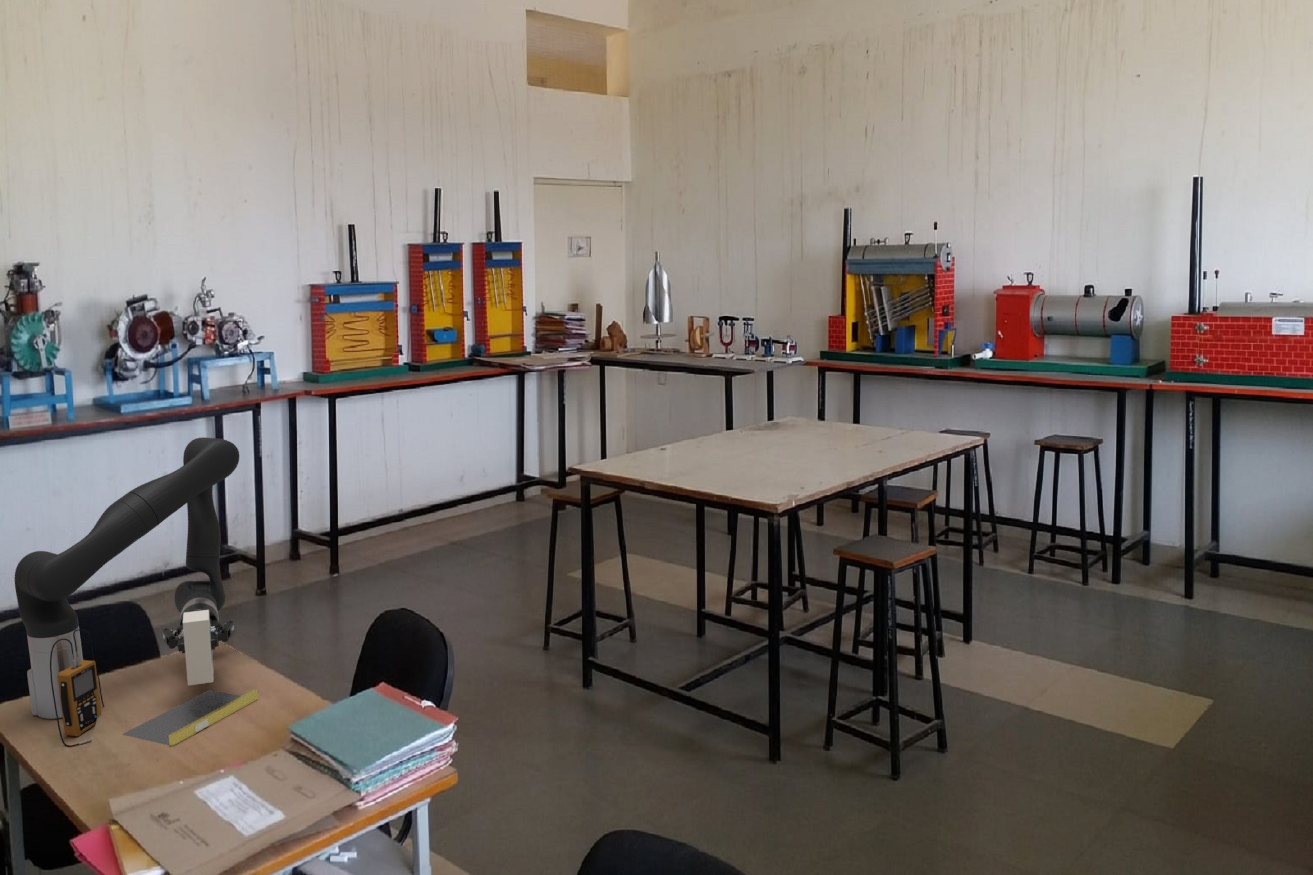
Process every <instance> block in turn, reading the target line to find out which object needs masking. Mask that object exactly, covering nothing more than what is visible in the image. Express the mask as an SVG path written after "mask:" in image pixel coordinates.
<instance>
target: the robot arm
mask: <svg viewBox="0 0 1313 875" xmlns="http://www.w3.org/2000/svg"><path fill="white" fill-rule="evenodd" d="M182 462H183V465H182V466H180V468H179V467H178V469H176V470H173V471H172V472H170V473H167V474H165V475H162V476H160V477H157V478H155V479H152V480H150V481H148V482H145V483H143V484H140V485H138V486H137V487H135V488H133V489H132V490H130V491H128V492H127V493H125V494H124V495H122V496H120V498H118V499H117V500H116V501H113V503H111V504H110V505H109V506H108V507H107V508H106V509H105V510H104V511H103V513H102V514H101V515H100V517H99V518H98V520H97V521H96V523H95V524H94V526H93V528H92V529H91V530H90V532H88V534H87V535H85V536H84V537H83V538H82V539H81V540H79V541H78V542H76V543H75V544H73V545H72V546H71V547H69V548H66V549H65V550H63V551H62V552H60V553H54V552H51V551H50V552H49V551H46V550H37V551H33V552H30V553H28V554H26V555H25V556H23V557H22V558H21V559H20V560H19V562H18V563H17V566H16V568H15V572H14V587H15V588H14V590H15V595H16V600H17V601H16V602H17V607H18V612H19V616H20V619H21V621H22V623H23V625H24V626H25V630H26V631H25V632H26V636H27V637H26V638H27V644H28V652H29V659H30V667H31V668H30V669H28V670H27V671H26V672H27V674H26V675H27V684H28V691H29V698H30V704H31V705H30V707H31V713H32V716H37V717H39V718H41V719H45V720H46V719H48V720H49V719H51V720H52V719H53V720H54V719H57V717H56V712H55V706H54V699H53V693H52V686H51V676H50V655H51V650H52V647H53V645H54V643H55V642H56V641H58V640H60V639H68V640H69V641H70V642H71V643H72V647H73V653H74V659H75V662H76V649H75V641H74V637H73V633H74V631H75V630H78V629H80V626H79V617H78V614H77V612H76V611H75V609H74V608H73V607H72V606H71V605H70V603H69V600H68V599H67V598H68V597H70V596H71V595H73V594H74V593H75V592H76V591H77V590H79V589H80V587H82V586H83V585H84V584H85V583H86V582H87V581H88V580H90V579H91V578H92V576H94V575H95V574H96V573H97V572H98V571H100V569H102V568H104V566H105V565H106V564H107V563H108V562H110V561H111V560H112V559H115V557H117V556H118V555H119V554H121V553H122V552H124V551H125V550H126V549H128V548H129V547H130V546H132V545H133V544H135V542H138V540H140V539H142V538H144V536H147V534H148V533H150V532H151V531H153V530H154V529H155V528H156V527H158V526H159V525H160V524H161V523H163V522H164V521H165V520H167V519H168V518H169V517H170V516H172V515H173V514H174V513H176V512H177V511H178V510H180V509H181V508H183V506H184V505H186V507H187V539H186V554H185V565H186V566H185V567H186V568H187V569H188V570H190V571H194V572H195V571H196V572H199V573H203V574H205V575H207V576H208V578H209V580H208V581H207V580H186V581H182V582H181V583H179V584H178V585H177V587H176V588H175V591H174V595H173V596H174V597H173V598H174V604H175V607H176V609H177V611H178V612H179V613H180V617H179V626H177V628H176V629H175V630H173V629H170V628H167V627H166V628H163V629H162V638H163V640H162V641H163V643H164V644H165V645H166V646H167V647H168V649H171V650H173V649H175V648H176V647H177V652H179V653H180V652H181V654H185V644H184V632H183V614H184V613H185V612H193V611H202V610H209V618H210V626H211V650H212V651H214V650H216V648H218V647H219V643H220V641H222V642H223V643H227V642H229V641H230V640H231V638H232V637H233V635H234V633H235V624H234V620H227V622H224V623H223V624H221V622H219V621H220V617H219V611H220V610H221V609H222V608H223V607H224V605H225V602H226V592H225V587H224V584H223V581H222V575H221V570H220V567H221V566H220V556H221V555H220V554H221V542H222V541H221V540H222V538H221V534H222V533H221V527H220V523H219V518H218V515H217V513H216V512H217V511H216V508H215V504H214V497H213V496H214V495H213V486H215V485H216V484H218V483H220V482H222V481H223V480H225V479H226V478H228V477H230V476H231V475H232V474H233V472H235V470H236V469H237V468H238V465H239V462H240V450H239V449H238V447H237V446H236V445H235V444H234V443H233V442H231V441H229V440H227V439H224V438H216V437H203V436H202V437H197V438H194V439H192V440H190V441H189V442H188V443H187V445H186V446H185V449H184V451H183V456H182ZM80 632H81V630H79V631H76V632H75V639H76V645H77V651H78V658H79V661H82V660H84V656H83V650H82V649H83V648H82V640H81V634H80ZM71 666H72V649H71V644H70V643H69V642H68V641H67V640H60V641H59V642H57V643H56V644H55V646H54V648H53V652H52V681H53V689H54V696H55V702H56V708H57V714H58V719H60V718H61V719H63V716H62V708H61V701H60V693H59V685H58V677H57V675H58V674H59V673H60V672H61V671H63V670H65V669H67V668H69V667H71Z"/></svg>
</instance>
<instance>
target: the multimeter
mask: <svg viewBox="0 0 1313 875" xmlns="http://www.w3.org/2000/svg"><path fill="white" fill-rule="evenodd" d="M76 631H83V632H85V633H86V634H87V635H88V637H89V640H90V651H91V657H92V660H86V659H83V660H82V661H79V658H78V651H77V645H76V639H75V632H76ZM73 637H74V641H75V649H76V662H75V659H74V653H73V647H72V643H71V642H70V641H69V640H68V639H60V640H67V641H68V642H69V643H70V644H71V649H72V666H71V667H69V668H67V669H65V670H63V671H61V672H60V673H59V674H58V675H57V677H58V685H59V693H60V701H61V708H62V716H63V717H62V721H63V722H62V723H63V728H64V735H66V736H70V737H71V736H72V737H80V736H82V734H83V733H85V732H86V731H88V730H89V729H91V728H92V727H94V726H96V725H97V721H98V718H99V717H100V716H102V709H101V708H102V707H104V708H105V704H104V701H103V695H102V688H101V687H102V686H101V681H100V680H101V679H100V676H99V675H100V674H99V672H98V670H97V666H96V665H97V664H96V661H95V656H94V650H93V640H92V637H91V634H90V633H89V631H87V629H83V628H82V629H81V628H79V629H78V630H75V631H74V633H73ZM60 640H58V641H56V642H55V643H54V645H53V647H52V650H51V655H50V676H51V686H52V693H53V699H54V706H55V712H56V717H57V718H56V721H57V728H58V731H59V736H60V740H61V743H62V744H63V745H64V746H65V747H68V748H70V747H71V748H72V747H76V746H79V745H83V744H84V745H85V744H87V743H90V742H92V741H93V738H89V739H86V740H83V741H80V742H79V743H75V744H72V745H71V744H70V745H69V744H67V743H65V740H64V739H63V738H64V737H63V734H62V730H61V727H60V721H59V718H58V714H57V708H56V702H55V696H54V689H53V681H52V652H53V648H54V646H55V644H56V643H57V642H59V641H60ZM100 699H101V700H100ZM101 705H102V707H101Z"/></svg>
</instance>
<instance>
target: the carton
mask: <svg viewBox="0 0 1313 875" xmlns="http://www.w3.org/2000/svg"><path fill="white" fill-rule="evenodd" d="M183 632H184V644H185V653H184V654H185V664H186V665H185V668H186V677H187V680H186V681H187V686H188V687H189V686H196V685H201V684H203V685H204V684H207V683H208V684H209V683H214V670H215V669H214V661H213V660H214V652H213V651H214V650H211V626H210V618H209V610H202V611H193V612H185V613H184V614H183Z"/></svg>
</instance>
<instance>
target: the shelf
mask: <svg viewBox="0 0 1313 875" xmlns="http://www.w3.org/2000/svg"><path fill="white" fill-rule="evenodd" d="M258 696H259V695H258V689H252V690H251V691H248V692H246V693H245V694H243V695H239V694H235V693H229V692H225V691H224V692H223V691H221V690H213V689H208V690H206V691H204V692H202V693H200V694H198V695H196V696H195V697H193V698H190V699H189V700H187V701H185V702H182V703H181V704H179V705H176V706H175V707H173V708H171V709H169V710H167V711H165V712H162V713H161V714H159V715H157V716H155V717H152V718H151V719H150V720H147V721H145V722H144V723H141V724H140V725H137V726H136V727H133V728H131V729H130V730H128V731H126V732H124V733H122V736H127V737H131V738H135V739H140V740H145V741H148V742H153V743H158V744H162V745H165V746H166V745H167V746H171V747H175V746H176V745H178V744H179V743H182V742H183V741H185V740H187V739H188V738H191V737H192V736H194V735H196V734H197V733H199V732H202V731H203V730H205V729H206V728H208V727H210V726H212V725H215V724H216V723H218V722H219V721H222V720H223V719H226V717H227V718H228V716H230V715H232V714H234V713H235V712H238V711H239V710H241V709H243V708H245V707H246V706H248V705H250V704H253V702H256V701H257V700H259V697H258Z"/></svg>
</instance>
